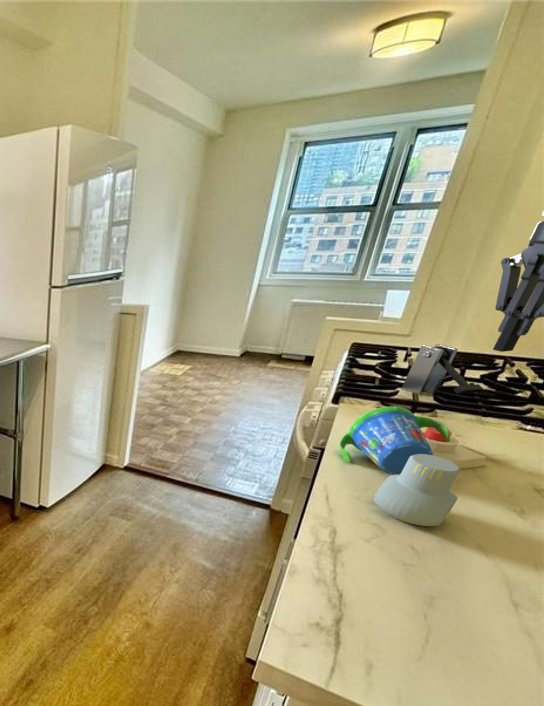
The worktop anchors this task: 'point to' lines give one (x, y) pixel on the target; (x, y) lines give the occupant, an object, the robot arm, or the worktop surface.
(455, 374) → the dark gray lever
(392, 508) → the air freshener
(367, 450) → the snack cup
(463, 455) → the button housing
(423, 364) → the lever bracket
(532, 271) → the robot arm
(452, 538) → the worktop surface
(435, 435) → the button
